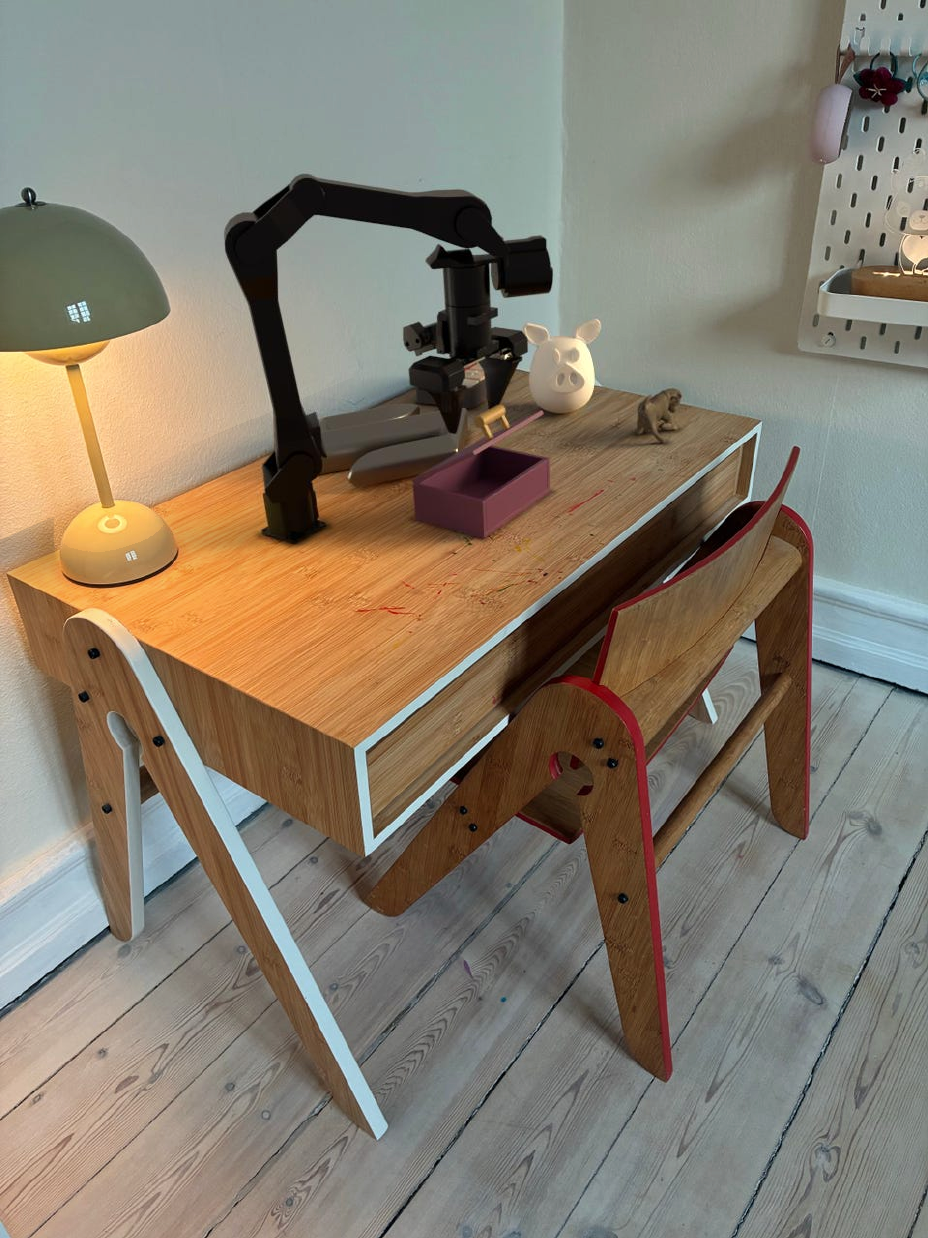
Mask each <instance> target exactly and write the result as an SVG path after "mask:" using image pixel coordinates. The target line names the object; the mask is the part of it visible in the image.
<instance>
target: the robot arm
mask: <svg viewBox="0 0 928 1238" xmlns="http://www.w3.org/2000/svg"><path fill="white" fill-rule="evenodd" d="M314 216H320V217H321V216H322V217H328V218H334V219H340V220H341V219H342V220H348V221H355V222H361V223H362V222H363V223H370V224H374V225H375V224H376V225H383V226H387V227H395V228H403V229H409V230H414V231H416V232H417V233H418V232H419V233H421V234H424V235H426V236H429V237H432V238H433V239H435V240H438V241H442V242H445V243H447V244H450V245H453V246H456V247H459V248H461V249H450V250H446V249H445V247H443V246H442V245H441V244H440V243H438V244H436V246H435V247H434V249H433V251H432V252H431V253H430V254H429V255H428V256H427V257H426V258H425V263H426V264H427V266H428V267H429V268H430V269H432V270H441V269H442V279H443V280H442V281H443V296H444V297H443V298H444V309H443V310H440V311H438V312H437V315H436V321H435V322H432V323H428V324H427V325H423V324H422V323H421V322H420V321H417V322H414V323H410V324H408V325H406V326H404V327H403V328H402V341H403V346H404V347H405V349H406V350H407V351H408V352H410V353H411V352H414V354H415V357H420V356H423V354H424V353H427V352H431V351H433V350H435V351H436V354H437V355H443V356H445V355H448V357H449V358H448V357H442V356H435V355H428V356H425V357H423V358H421V359H419V360H416V361H413V363H412V364H411V365H410V367H409V368H408V381H409V386H410V387H415V388H416V387H418V389H419V390H423V391H427V392H428V393H429V394H430V395H431V396H432V397H433V399H434V401H435V403H436V406H437V409H438V411H440V413H441V416H442V418H443V420H444V423H445V425H446V427H447V430H448V432H449V433H452V434H456V433H457V431H458V427H459V423H460V418H461V413H462V407H463V402H464V397H465V392H466V385H462V383H463V381H464V379H465V368H467V367H469V366H471V365H473V364H475V363H477V364H478V363H479V364H480V365H481V367H482V368H483V370H484V377H485V386H486V395H487V396H486V403H487V407H488V410H489V409H491V408H493V407H495V406H497V405H501V403H502V401H503V398H504V396H505V394H506V392H507V389H508V386H509V384H510V382H511V381H512V378H513V376H514V374H515V372H516V370H517V369H518V366H519V364H520V363H521V362H522V361H523V355H525V354H527V353H529V342H528V338H527V337H526V336H525V334H524V333H523V330H520V329H512V328H505V327H498V326H493V327H492V320H493V319H495V318H497V317H498V316H499V308H498V307H495V306H492V301H491V298H492V297H491V284H492V288H493V290H494V291H500V293H501V296H502V297H503V298H504V299H509V298H519V297H527V296H536V295H545V294H549V293H550V292H551V290H552V288H553V281H554V268H553V267H552V264H551V258H550V254H549V251H548V248H547V247H548V246H547V245H548V243H547V238H546V237H544V236H543V235H531V236H529V237H528V236H527V237H526V238H517V239H507V240H504V237H503V236H501V235H500V234H499V232H498V231H497V230H496V229H495V228H494V226H493V215H492V212H491V208H490V207H489V205H488V204H487V203H486V202H485V200H483V199H481V198H480V197H479V196H476V195H475V194H474V193H472V192H470V191H468V190H465V189H461V188H460V189H459V188H458V189H457V188H456V189H434V190H425V191H411V192H409V191H403V190H397V189H390V188H384V187H380V186H379V187H378V186H372V185H365V184H358V183H353V182H348V181H347V182H346V181H340V180H333V179H328V178H322V177H317V176H315V175H312V174H310V173H300V174H298V175H295V176H294V177H293V179H291V181H290V183H288V184H287V185H286V186H284V188H281V190H279V191H278V192H276V193H275V194H273V195H272V196H271V197H269V198H268V199H267V200H264V201H263V203H261V204H260V205H259V206H258V207H256V208H255V209H254V210H253V211H252V212H250V211H249V212H248V211H247V212H245V211H243V212H240V213H238V214H235V215H234V216H233V217H232V218H230V219H229V220H228V222H227V224H226V225H225V227H224V231H223V239H224V240H223V241H224V252H225V255H226V258H227V260H228V263H229V265H230V267H231V270H232V272H233V275H234V277H235V280H236V282H237V284H238V286H239V289H240V291H241V292H242V295H243V297H244V299H245V301H246V304H247V306H248V309H249V313H250V318H251V322H252V327H253V330H254V336H255V340H256V343H257V348H258V352H259V356H260V360H261V364H262V369H263V373H264V377H265V381H266V386H267V390H268V394H269V398H270V403H271V407H272V427H273V428H272V429H273V447H274V449H273V450H272V452H271V453H270V454H269V455H268V456H267V458H266V459H265V460H264V461H263V463H261V473H262V479H263V481H262V482H263V488H264V492H263V493H262V494H261V495H262V500H263V505H264V512H265V518H266V522H267V523H266V524H267V526H266V527H263V528H262V529H260V533H261V535H264V536H266V537H269V538H272V539H275V540H279V541H281V542H285V543H288V544H291V545H297V544H299V543H300V542H302V541H304V540H306V539H308V538H309V537H311V536H312V535H314V534H316V533H318V532H319V531H321V530H323V529H325V528H326V527H328V524H327V523H328V522H326V521H325V520H324V521H323V520H321V519H319V518H320V513H319V507H318V501H317V499H318V498H317V493H316V490H315V489H314V485H313V481H315V480H316V479H317V478H318V476H320V475H321V474H320V473H321V471H322V467H323V466H322V458H321V457H324V458H326V457H327V455H326V451H325V448H324V444H323V440H322V438H321V428H320V424H319V421H318V419H319V418H318V414H317V412H316V411H314V412H311V413H308V414H306V411H305V409H304V407H303V404H302V402H301V398H300V393H299V389H298V384H297V380H296V376H295V370H294V367H293V361H292V357H291V352H290V348H289V343H288V338H287V334H286V330H285V329H286V328H285V324H284V320H283V314H282V311H281V306H280V301H279V269H278V268H279V267H278V265H279V264H278V250H279V249H280V248H281V247H283V246H284V245H285V244H286V243H288V241H289V240H291V239H292V237H293V236H294V235H296V233H297V232H298V231H299V230H300V229H301V228H302V227H303V226H304V225H305V224H306V223H307V222H308V221H310V220H311V219H312V218H313V217H314ZM474 248H478V249H481V250H482V251H483V252H485V253H484V254H473V252H472V250H471V249H474ZM319 474H320V475H319Z"/></svg>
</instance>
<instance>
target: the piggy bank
mask: <svg viewBox="0 0 928 1238" xmlns="http://www.w3.org/2000/svg"><path fill="white" fill-rule="evenodd" d="M601 328H602V323H601V321H600V320H599V318H593V319H590V320H587V321H585V322H582V323H580V324H578V325H577V326H576V327H574V330H573V336H572V335H571V336H570V335H556V336H550V333H549V331H548V330H547V328H546V327H544V326H541V325H539V324H535V323H531V322H525V323H524V324H523V325H522V332H523V333H524V334H525V336H526V337H527V338H528V344H531V345H532V346H534V347H536V349H535V350H534V352H533V355H532V359H531V362H530V366H529V372H528V389H529V393H530V395H531V398H532V400H533V401H534V402H535V404H536V405H537V406H538V407H540V408H541V409H542V410H544V411H547V412H549V413H553V414H568V413H573V412H575V411H577V410H579V409H581V408H583V407H584V406H585V405H586V404H587V403H588V402H589V401H590V399H591V397H592V395H593V392H594V388H595V369H594V368H595V367H594V364H593V363H594V362H593V359H592V356H591V353H590V350H589V348H588V346H587V345H588V344H590V343H591V342H593V341H594V340H595V339H596V338H597V337H598V336H599V334H600V332H601Z"/></svg>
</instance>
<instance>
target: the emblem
mask: <svg viewBox="0 0 928 1238" xmlns="http://www.w3.org/2000/svg"><path fill="white" fill-rule="evenodd" d="M318 421H319V424H320V428H321V438H322V440H323V444H324V448H325V451H326V455H327V457H326V458H324V457H321V458H322V466H323V467H322V471H321V473H320V474H319V475H318V476H320V475H325V474H330V473H336V472H342V471H346V470H349V471H348V472H347V482H348V483H349V484H350V485H351V486H352V487H355V488H362V487H367V486H371V485H377V484H381V483H384V482H385V483H386V482H389V481H394V480H399V479H403V478H408V477H413V476H414V477H415V476H419V475H420V474H422V473H424V472H425V471H427V470H429V469H431V468H432V467H434V466H436V465H437V464H439V463H441V462H443V461H444V460H446V459H448V458H449V457H451V456H453V455H455V454H456V453H458V452H460V451H461V450H463V449H465V443H466V441H467V440H466V439H467V436H468V430H469V428H468V427H469V426H468V425H469V424H468V421H469V420H468V411H467V408H462V413H461V418H460V423H459V427H458V431H457V433H456V434H452V433H449V432H448V430H447V427H446V425H445V423H444V420H443V418H442V416H441V413H440V411H439V410H436V411H430V412H425V413H421V407H420V405H418V404H416V403H397V404H391V405H384V406H379V407H373V408H367V409H361V410H355V411H351V412H345V413H339V414H334V415H328V416H324V417H322V418H318Z"/></svg>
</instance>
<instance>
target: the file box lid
mask: <svg viewBox="0 0 928 1238" xmlns="http://www.w3.org/2000/svg"><path fill="white" fill-rule="evenodd" d="M505 415H506V408H505V406H504V405H502V404H500V405H497V406H495V407H493V408H491V409H489V408H488V409H487V410H486V411H484V412H482V413H480V414H479V415H476V416H475V417H474V420H473V421H474V425H475V427H476V428H478V429H480V430H481V431H482V433H483V435H484V437H482V438H480V439H479V440H476V441H475V442H474V443H472V444H470V445H468V446H467V447H464V448H463V450H461V451H460V452H458V453H456V454H455V455H453V456H451V457H449V458H448V459H446V460H444V461H443V462H441V463H439V464H437V465H436V466H434V467H432V468H431V469H429V470H427V471H425V472H424V473H422V474H418V475H416V476H414V477H413V478H412V479H411V482H412V485H413V484H414V483H416V482H418V481H420V480H423V479H425V478H427V477H429V476H431V475H433V474H436V473H438V472H440V471H442V470H444V469H446V468H449V467H451V466H453V465H455V464H457V463H459V462H462V461H464V460H466V459H468V458H470V457H472V456H474V455H476V454H478V453H480V452H481V451H483V450H485V449H486V448H488V447H490V446H491V445H492V446H494V445H495V444H496V443H497V442H499V441H502V440H504V439H505V438H506V437H508V436H510V435H512V434H513V433H514V432H517V431H518V430H520V429H521V428H523V427H524V426H526V425H528V424H529V423H531V422H533V421H535V420H536V419H539V418H540V417H541V416H543V415H544V412H543V409H541V410H539V411H537V412H535V413H532V414H531V415H528V416H526V417H523V418H522V419H520V420H518V421H515V422H513V423H512V424H509V422H508V420H507V417H506V416H505ZM495 421H499V423H500V425H501V427H502V428H501V429H499V430H497V431H495V432H493V433H492V431H491V429H490V427H489V425H490V424H491V423H494V422H495Z"/></svg>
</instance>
